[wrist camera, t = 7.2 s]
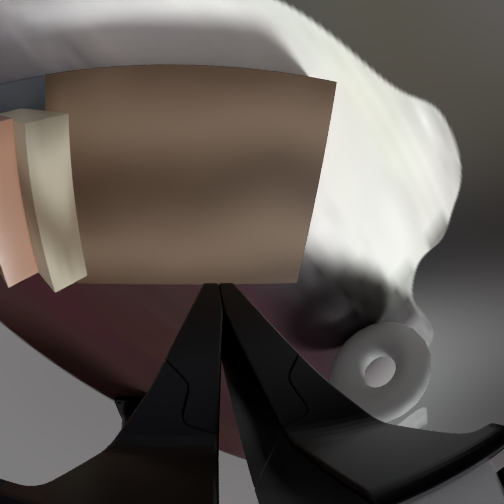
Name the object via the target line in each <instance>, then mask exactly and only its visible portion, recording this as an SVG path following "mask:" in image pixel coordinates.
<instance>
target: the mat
mask: <svg viewBox="0 0 504 504" xmlns="http://www.w3.org/2000/svg"><path fill="white" fill-rule="evenodd" d="M20 108H24V109H34V110H43V111H45V76H39V77H34V78H29V79H24V80H19V81H14V82H10V83H6V84H2V85H0V114H1V113H4V112H8V111H12V110H16V109H20Z"/></svg>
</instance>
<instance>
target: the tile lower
mask: <svg viewBox="0 0 504 504" xmlns="http://www.w3.org/2000/svg"><path fill="white" fill-rule="evenodd" d="M0 115H1V116H6V117H11V118H13V125H14V139H15V150H16V159H17V168H18V175H19V182H20V189H21V195H22V201H23V206H24V211H25V216H26V221H27V226H28V231H29V235H30V239H31V243H32V248H33V251H34V255H35V259H36V263H37V267H38V270H39V273H40V275H41V276H42V277H43V278H44V280H45V281H46V282H47V283H48V285H49V286H50V287H51V288H52V289H53V291H54V292H57V291H59V290H61V289H63V288H65V287H67V286H68V285H70V284H72V283H74V282H76V281H78V280H80V279H82V278H84V277H86V276H87V271H86V267H85V262H84V256H83V251H82V245H81V240H80V234H79V227H78V221H77V214H76V206H75V198H74V190H73V180H72V169H71V157H70V140H69V114H68V113H60V112H52V111H43V110H34V109H24V108H20V109H16V110H12V111H8V112H4V113H1V114H0Z"/></svg>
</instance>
